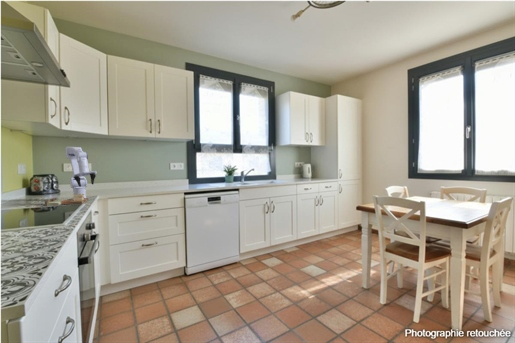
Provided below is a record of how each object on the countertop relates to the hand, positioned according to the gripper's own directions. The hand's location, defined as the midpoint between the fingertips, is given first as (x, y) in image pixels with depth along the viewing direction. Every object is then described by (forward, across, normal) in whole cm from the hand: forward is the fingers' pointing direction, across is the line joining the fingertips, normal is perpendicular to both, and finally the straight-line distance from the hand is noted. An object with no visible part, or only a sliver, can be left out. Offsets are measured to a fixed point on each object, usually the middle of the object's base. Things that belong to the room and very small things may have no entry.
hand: (86, 185), depth 167 cm
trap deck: (+9, -14, +6) cm, 17 cm away
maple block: (+8, -7, +5) cm, 12 cm away
